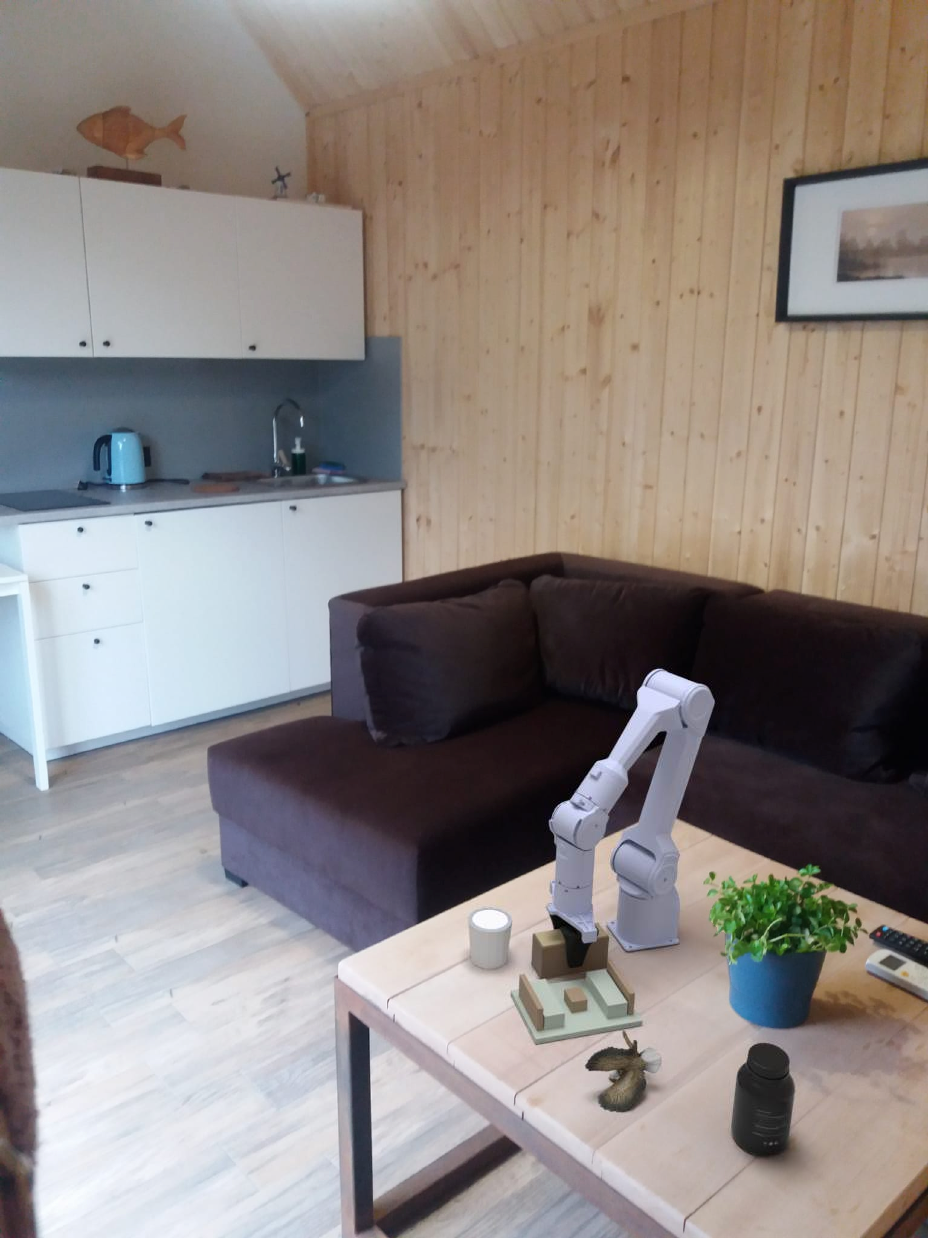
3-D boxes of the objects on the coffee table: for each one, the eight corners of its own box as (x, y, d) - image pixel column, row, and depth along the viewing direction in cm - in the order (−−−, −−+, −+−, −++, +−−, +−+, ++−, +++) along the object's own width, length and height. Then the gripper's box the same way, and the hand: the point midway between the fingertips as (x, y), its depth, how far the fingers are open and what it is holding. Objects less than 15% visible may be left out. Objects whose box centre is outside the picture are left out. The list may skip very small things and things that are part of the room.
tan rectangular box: (596, 953, 159) (598, 921, 158) (607, 968, 156) (609, 936, 154) (531, 964, 156) (532, 932, 154) (540, 980, 152) (542, 947, 151)
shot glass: (511, 947, 160) (513, 908, 158) (509, 973, 154) (511, 933, 152) (469, 943, 161) (470, 905, 159) (464, 969, 154) (465, 929, 152)
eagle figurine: (605, 1046, 137) (571, 1071, 130) (637, 1017, 134) (604, 1041, 127) (642, 1096, 134) (609, 1125, 127) (676, 1067, 131) (644, 1095, 123)
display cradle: (610, 978, 153) (612, 953, 152) (642, 1025, 143) (644, 999, 142) (510, 995, 149) (511, 969, 147) (535, 1044, 139) (536, 1017, 137)
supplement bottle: (722, 1117, 126) (731, 1036, 123) (775, 1115, 127) (785, 1034, 124) (741, 1161, 120) (751, 1077, 116) (797, 1158, 120) (808, 1074, 117)
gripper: (532, 858, 157) (529, 934, 161) (566, 908, 144) (562, 989, 148) (575, 853, 159) (570, 928, 163) (612, 901, 146) (606, 982, 149)
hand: (569, 957), depth 155 cm, fingers closed on tan rectangular box, 4 cm apart
